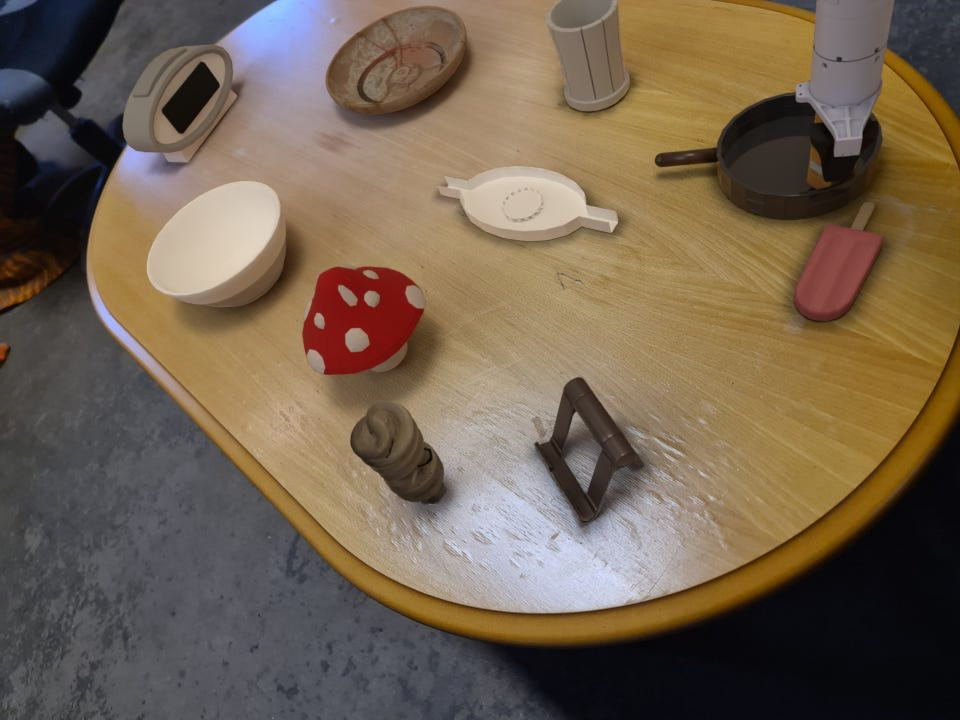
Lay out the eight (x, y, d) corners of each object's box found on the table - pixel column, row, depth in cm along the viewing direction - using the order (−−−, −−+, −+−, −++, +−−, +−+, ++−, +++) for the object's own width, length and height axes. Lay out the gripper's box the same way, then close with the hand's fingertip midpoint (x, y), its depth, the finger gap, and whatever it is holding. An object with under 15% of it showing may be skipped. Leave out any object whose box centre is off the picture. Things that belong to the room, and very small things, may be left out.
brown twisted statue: (442, 457, 70) (380, 381, 58) (476, 491, 67) (418, 418, 55) (401, 497, 69) (329, 427, 57) (433, 533, 66) (364, 468, 54)
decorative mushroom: (449, 297, 82) (398, 206, 70) (448, 396, 74) (391, 314, 62) (341, 321, 85) (275, 238, 73) (329, 419, 77) (253, 344, 65)
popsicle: (900, 203, 68) (844, 319, 63) (897, 214, 69) (842, 329, 64) (842, 192, 71) (784, 303, 66) (841, 203, 72) (783, 312, 67)
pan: (871, 108, 78) (875, 82, 75) (883, 214, 70) (889, 189, 67) (719, 125, 83) (718, 101, 81) (715, 224, 75) (714, 201, 73)
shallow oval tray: (464, 163, 94) (460, 153, 93) (634, 195, 81) (632, 184, 80) (424, 218, 91) (419, 208, 89) (594, 261, 78) (591, 250, 76)
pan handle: (724, 154, 78) (724, 143, 77) (724, 164, 77) (724, 153, 76) (655, 161, 81) (654, 150, 80) (654, 170, 80) (653, 160, 79)
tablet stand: (536, 452, 67) (514, 410, 61) (607, 411, 67) (591, 365, 61) (581, 527, 62) (562, 490, 55) (658, 482, 62) (647, 440, 55)
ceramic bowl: (311, 121, 112) (295, 95, 108) (391, 29, 120) (379, 2, 116) (422, 140, 100) (408, 112, 96) (502, 37, 108) (493, 7, 104)
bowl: (168, 284, 100) (128, 246, 93) (276, 203, 103) (245, 160, 96) (216, 359, 88) (173, 322, 82) (336, 265, 91) (305, 221, 84)
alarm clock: (180, 176, 115) (126, 114, 105) (155, 175, 118) (100, 114, 108) (250, 84, 125) (206, 18, 115) (225, 85, 128) (180, 21, 118)
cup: (545, 113, 95) (523, 33, 85) (566, 70, 99) (547, -11, 89) (620, 113, 90) (605, 29, 81) (639, 68, 94) (627, -18, 84)
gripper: (796, 0, 65) (789, 118, 75) (801, 102, 57) (792, 217, 68) (883, -15, 62) (863, 110, 73) (899, 91, 55) (874, 212, 66)
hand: (834, 161), depth 70 cm, fingers closed on supplement box, 4 cm apart
